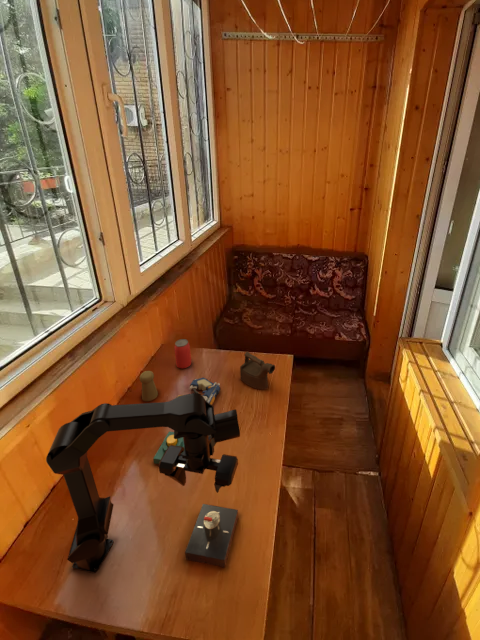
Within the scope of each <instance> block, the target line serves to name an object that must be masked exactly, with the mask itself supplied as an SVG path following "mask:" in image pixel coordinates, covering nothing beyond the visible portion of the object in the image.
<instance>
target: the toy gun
mask: <svg viewBox="0 0 480 640" xmlns="http://www.w3.org/2000/svg"><path fill="white" fill-rule="evenodd" d="M189 390H193V393H199V391H200V390H202V394H201V395H202V396H203V397H204V399H205V400H206V401H207V402H208V403H210V404H211V405H212V406H213V404H214V402H215V399H216V398H217V396H218V395H219V393H220V391H221V384H220V383H219V382H218V383H217V381H214V382H211V381H210V380H208V379H207V378H206V377H205V376H204V377H200V378H195V379H193V380H192V381H191V382H190V384H189ZM197 390H199V391H197ZM181 395H182V394H179V395H177V396H176V397H178V396H181Z"/></svg>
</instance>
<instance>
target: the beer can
mask: <svg viewBox="0 0 480 640" xmlns="http://www.w3.org/2000/svg"><path fill="white" fill-rule="evenodd" d="M191 353H192V352H191V346H190V342H189V340H188V339H186V338H180V339H178V340H176V341H175V342H174V356H175V364H176V367H177V368H178V369H186V368H188V367H190V366H191V364H192V354H191Z"/></svg>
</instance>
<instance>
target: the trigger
mask: <svg viewBox="0 0 480 640" xmlns="http://www.w3.org/2000/svg"><path fill="white" fill-rule="evenodd" d="M176 444H177V439H174V435H170V436H169V437H168V438H167V446H168V447H169V446H170V445H176Z"/></svg>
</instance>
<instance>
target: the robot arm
mask: <svg viewBox="0 0 480 640" xmlns="http://www.w3.org/2000/svg"><path fill="white" fill-rule="evenodd" d="M180 395H181V396H179V395H177V396H178V397H177V396H176V397H175V398H172V399H171V400H169V401H168V400H167V401H161V402H146V403H144V402H143V403H128V404H127V403H126V404H111V403H107V402H104V403H101V404H99V405H97V406H96V407H95V408H93V409H92V410H89V411H85V412H81V414H79V415H78V416H77V417H75V418H74V419H72V420H71V421H69V422H66V423H64V424H62V425H61V426H60V427H59V428H58V430H57V432H56V435H55V437H54V439H53V441H52V443H51V445H50V448H49V450H48V453H47V455H46V457H45V462H46V464H47V465H48V467H49V468H50V469H51V470H50V471H52V472H53V474H57V475H62V476H63V477H64V478H63V479H64V482H65V484H66V487H67V490H68V494H69V496H70V499H71V502H72V505H73V508H74V510H75V513H76V516H77V522H76V523H77V524H76V528H75V531H74V535H73V537H72V541H71V545H70V549H69V552H68V555H67V559H66V560H67V561H69V562H70V563H71V564H72V566H71V567H72V569H73V570H77V571H81V572H86V573H91V574H96V573H98V571H99V570H100V568H101V566H102V565H103V563H104V561H105V559H106V557H107V555H108V553H109V552H110V550H111V548H112V546H113V544H114V539H111V538H108V537H109V532H110V531H109V530H110V525H111V520H112V515H113V510H114V506H115V505H114V503H113V502H112V500H111V499H112V497H111V495H110V496H107V497H101V496H100V494H99V491H98V488H97V484H96V481H95V477H94V475H93V470H92V467H91V465H90V461H89V457H88V451H89V450H90V449H91V448H92V446H94V444H95V443H96V442H97V441H98V439H99V438H101V437H102V436H104V435H105V434H106V433H107V432H119V431H128V430H142V429H143V430H144V429H153V428H169V429H171V430H172V431H173V432H174V439H178V438H182V437H183V440H184V447H180V446H175V445H170V446H169V447H168V448H167V450H166V451H165V453H164V455H163V457H162V458H161V460H160V462H159V464H157V465H158V472H159V474H163V475H164V476H165V477H168V478H170V479H172V480H174V481H175V482H177V483H178V484H179V485H181V487H185V485H186V483H187V475H186V473H187V472H191V473H195V474H201V475H203V474H204V472H205V470H209V471H214V472H215V474H214V484H213V485H214V489H215V492H216V493H219V492H220V489H221V488H222V487H223V488H225V487H230V486H231V485H232V484H233V481H234V478H235V474H236V471H237V469H238V465H239V459H238V457H237V456H236V455H231V454H225V453H223V454H222V455H221V458H220V459H217V458H213V457H211V456H213V455H214V454H215V446H216V445H217V444H218V443H222V442H225V441H229V440H234V439H239V438H240V437H241V429H240V426H239V425H240V424H239V418H238V411H237V409H231V410H229V411H225V412H219V413H215V409H214V408H215V407H214V405H213V404H212V405H211V404H210V403H208V402H207V401H206V400H205V399H204V397H203V396H202V395H203V394H201V393H200V392H198V393H195V392H192V393H187V394H180ZM184 449H185V450H184Z"/></svg>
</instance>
